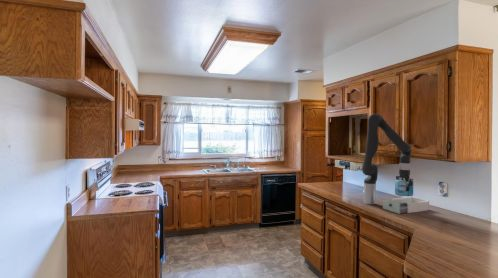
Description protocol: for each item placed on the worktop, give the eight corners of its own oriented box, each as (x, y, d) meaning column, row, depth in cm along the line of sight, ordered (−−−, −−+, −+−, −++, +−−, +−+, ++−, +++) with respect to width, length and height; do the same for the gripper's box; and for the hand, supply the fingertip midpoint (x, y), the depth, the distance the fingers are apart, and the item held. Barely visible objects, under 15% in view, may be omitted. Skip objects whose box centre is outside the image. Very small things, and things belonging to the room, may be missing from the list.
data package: (397, 196, 223) (398, 180, 223) (394, 194, 228) (395, 179, 227) (413, 196, 224) (413, 180, 223) (409, 194, 228) (410, 179, 228)
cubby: (391, 207, 232) (392, 199, 231) (411, 205, 240) (412, 196, 239) (408, 212, 218) (408, 203, 217) (428, 210, 226) (429, 201, 226)
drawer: (381, 208, 228) (381, 199, 228) (403, 206, 236) (403, 197, 236) (397, 214, 214) (397, 204, 214) (420, 211, 222) (420, 201, 222)
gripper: (393, 167, 230) (392, 189, 231) (409, 170, 217) (408, 192, 217) (400, 167, 233) (399, 188, 234) (416, 169, 220) (415, 192, 220)
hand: (404, 190), depth 226 cm, fingers closed on data package, 5 cm apart
